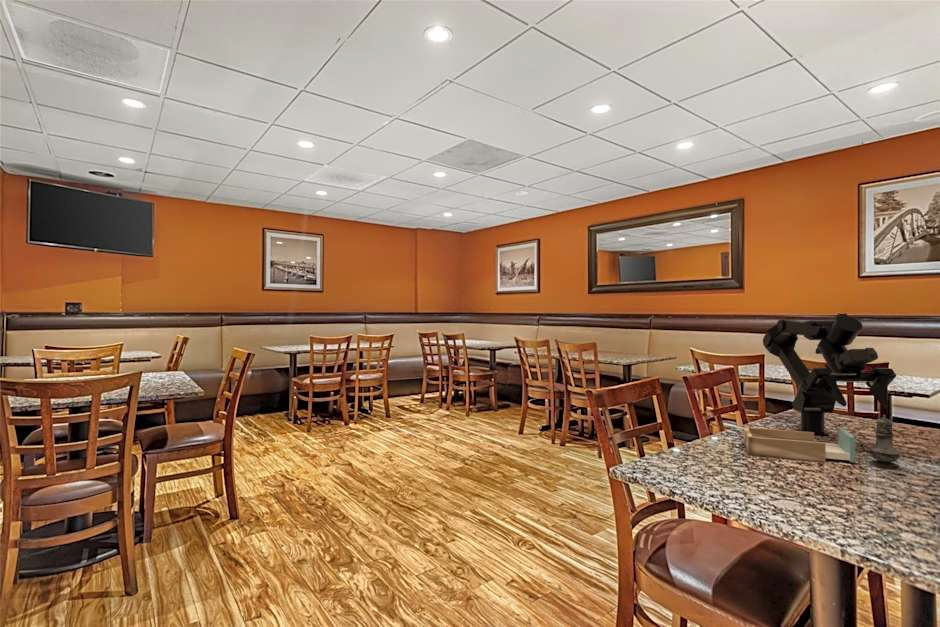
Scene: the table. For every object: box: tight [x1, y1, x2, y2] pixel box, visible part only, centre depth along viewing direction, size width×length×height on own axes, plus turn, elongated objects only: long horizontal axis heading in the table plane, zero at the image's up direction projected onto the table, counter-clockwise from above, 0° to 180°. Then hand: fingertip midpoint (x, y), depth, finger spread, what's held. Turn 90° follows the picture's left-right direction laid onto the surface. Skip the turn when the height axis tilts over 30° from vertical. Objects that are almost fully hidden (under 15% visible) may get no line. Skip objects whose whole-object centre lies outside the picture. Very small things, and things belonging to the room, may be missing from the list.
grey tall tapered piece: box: [868, 414, 902, 470], centre depth 112 cm, size 6×6×12 cm
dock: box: [742, 426, 827, 463], centre depth 123 cm, size 11×16×4 cm
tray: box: [772, 427, 856, 463], centre depth 120 cm, size 9×16×6 cm, turn 66°
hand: (865, 405), depth 118 cm, fingers open, 9 cm apart
